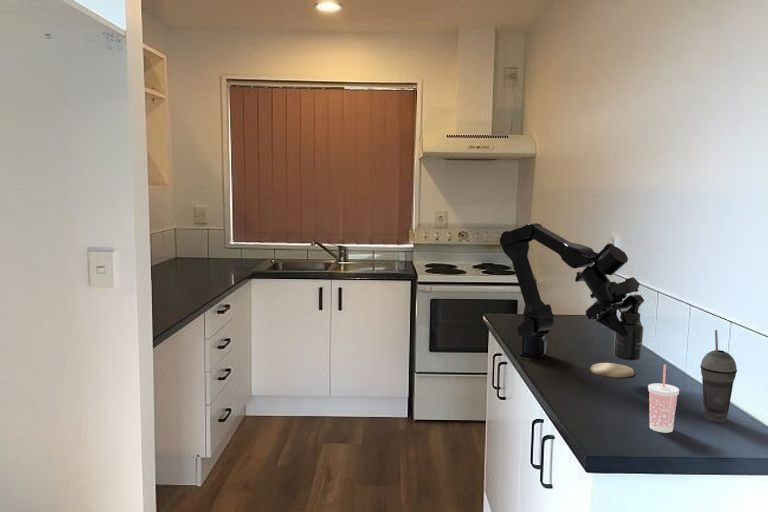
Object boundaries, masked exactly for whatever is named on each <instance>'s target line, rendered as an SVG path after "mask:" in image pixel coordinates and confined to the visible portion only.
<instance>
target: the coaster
mask: <svg viewBox="0 0 768 512" xmlns="http://www.w3.org/2000/svg"><path fill="white" fill-rule="evenodd" d="M589 369H590V371H591V373H593V374H595V375H598V376H603V377H607V378H614V379H616V378H617V379H619V378H620V379H622V378H623V379H624V378H631V377H633V376H634V375H635V371H634V369H633V368H632V367H630V366H627V365H624V364H621V363H614V362H613V363H612V362H599V363H593V364H592V365H591V366H590V368H589Z"/></svg>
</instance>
